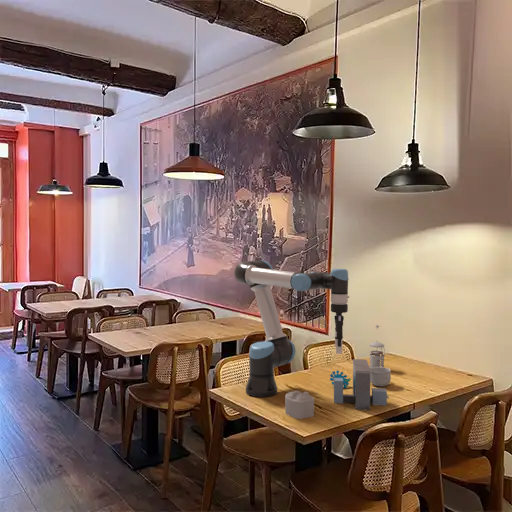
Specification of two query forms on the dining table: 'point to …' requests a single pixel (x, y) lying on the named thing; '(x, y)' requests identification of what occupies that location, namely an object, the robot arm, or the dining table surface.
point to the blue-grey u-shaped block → (376, 398)
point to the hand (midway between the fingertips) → (338, 350)
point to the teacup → (380, 376)
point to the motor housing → (361, 384)
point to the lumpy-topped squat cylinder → (299, 405)
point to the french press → (377, 355)
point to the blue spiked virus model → (345, 381)
